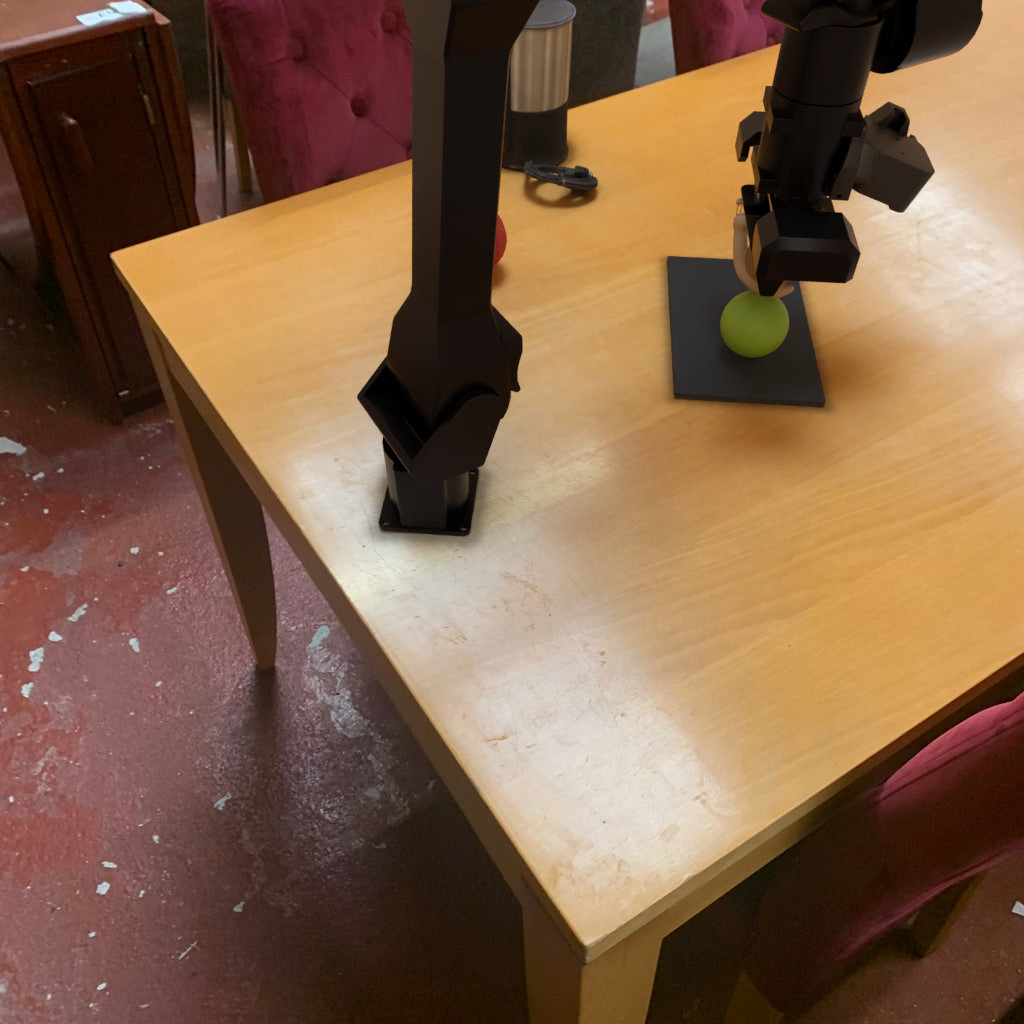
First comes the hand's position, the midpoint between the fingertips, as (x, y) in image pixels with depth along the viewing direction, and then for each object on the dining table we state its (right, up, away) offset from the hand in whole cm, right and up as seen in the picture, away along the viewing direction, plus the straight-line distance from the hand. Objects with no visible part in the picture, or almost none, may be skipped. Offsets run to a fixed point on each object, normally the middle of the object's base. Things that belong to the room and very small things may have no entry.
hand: (766, 293), depth 69 cm
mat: (0, -1, +10) cm, 10 cm away
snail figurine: (-1, -4, +6) cm, 7 cm away
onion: (-23, +5, +15) cm, 28 cm away
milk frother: (-16, +21, +29) cm, 39 cm away
